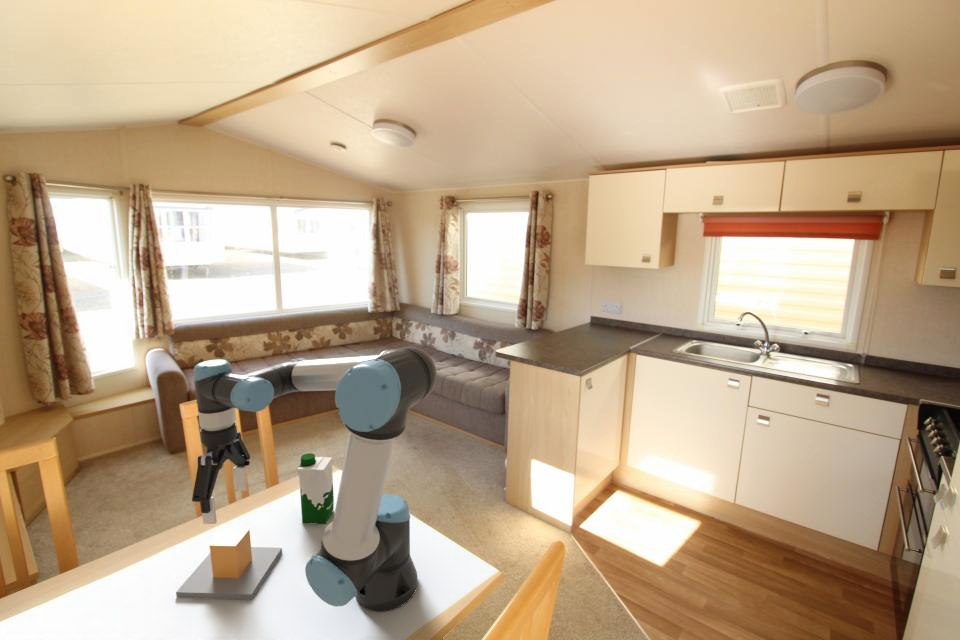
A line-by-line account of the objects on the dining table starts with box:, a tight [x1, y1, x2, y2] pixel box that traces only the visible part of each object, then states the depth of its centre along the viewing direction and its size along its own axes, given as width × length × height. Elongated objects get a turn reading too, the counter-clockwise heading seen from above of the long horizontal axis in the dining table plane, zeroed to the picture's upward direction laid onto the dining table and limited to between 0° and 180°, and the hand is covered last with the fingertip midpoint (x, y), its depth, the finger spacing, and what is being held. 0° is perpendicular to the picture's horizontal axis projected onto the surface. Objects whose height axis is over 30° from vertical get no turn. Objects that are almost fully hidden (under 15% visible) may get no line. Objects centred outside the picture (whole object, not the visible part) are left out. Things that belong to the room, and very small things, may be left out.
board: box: [175, 546, 283, 601], centre depth 113 cm, size 18×16×8 cm
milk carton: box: [297, 452, 335, 525], centre depth 136 cm, size 9×9×20 cm
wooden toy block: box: [209, 527, 252, 578], centre depth 113 cm, size 6×6×9 cm
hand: (226, 505), depth 110 cm, fingers open, 13 cm apart
